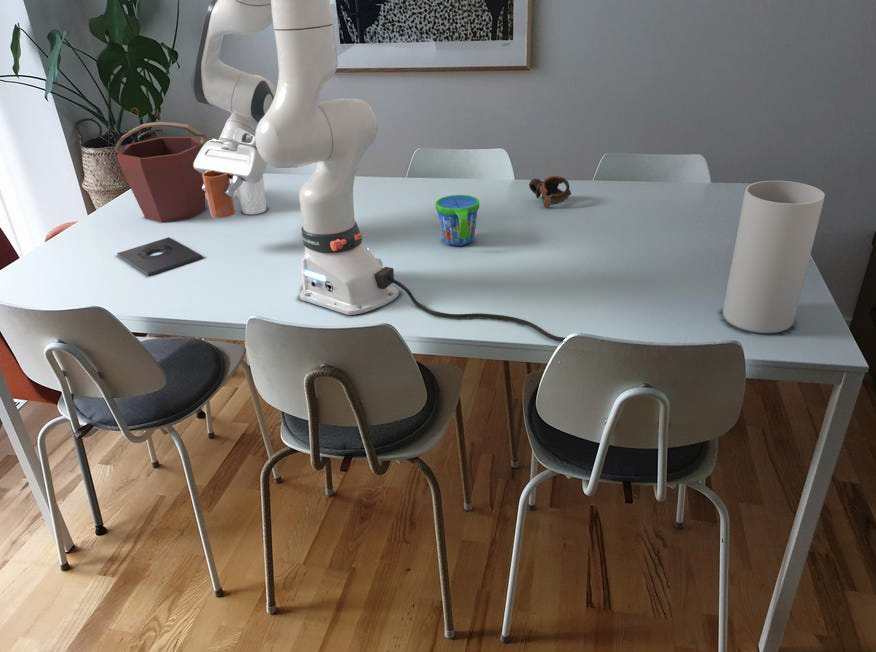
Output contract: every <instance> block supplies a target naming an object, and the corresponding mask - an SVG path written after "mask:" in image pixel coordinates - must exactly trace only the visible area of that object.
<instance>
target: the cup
mask: <svg viewBox="0 0 876 652" xmlns="http://www.w3.org/2000/svg"><path fill="white" fill-rule="evenodd" d="M202 178H203V182H204V187H205V198H206V201H207V205H208V210H209V214H210V217H211V218H213V219H224V218H229V217H232V216H234V215H235V214H236V206H235V200H234V195H233V196H227V195H226V194H224V190H225V188H226V186H228V187H229V185H230V184H231V181H230V180H231V179H229V175H228V173H225V174H223V173H217V172H214V170H211V171H208V172H205V173H203V174H202Z"/></svg>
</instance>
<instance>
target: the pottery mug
mask: <svg viewBox="0 0 876 652" xmlns="http://www.w3.org/2000/svg"><path fill="white" fill-rule="evenodd" d="M560 184H564V185H565V186H566V187H565V189H564V190H561V189H560V188H559V186H560ZM528 187H529V189H530V191H531V192H532V193H533V194H534V195H535V196H536V199H539V198H540V197H541V198H542V199H543V202H542V206H543V207H545V208H547V209H548V208H549V207H550V206H554V205H558V204H561V203H564V202H565V200H568V198H569V197H570V196H572V191H571V189H570V188H571V187H570V183H569V181H568V180H567V179H566V178H565V177H562V176H560V175H550V176H546V178H544V179H543V180H541V179H539V178H531V180H530V181H529V184H528Z"/></svg>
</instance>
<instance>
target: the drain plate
mask: <svg viewBox="0 0 876 652" xmlns="http://www.w3.org/2000/svg"><path fill="white" fill-rule="evenodd" d="M157 252H162V253H159V254H155V255H150V254H152V253H157ZM116 254H117V257H119V258H120V259H122V260H123V261H125V262H126V263H128V264H129V265H131V266H132V267H134V268H135V269H137V270H138V271H140V272H141V273H143V274H144V275H146V276H148V277H150V276H153V275H157V274H159V273H162V272H165V271H169V270H172V269H174V268H177V267H180V266H183V265H186V264H189V263H192V262H194V261H198V260H200V259H203V256H202V254H200V253H198V252H196V251H195V250H192V249H191V248H189V247H187V246H185V245H184V244H182V243H180V242H178V241H176V240H175V239H173V238H171V237H169V236H168V237H165V238H162V239H159V240H155V241H152V242H149V243H146V244H143V245H138V246H136V247H133V248H132V247H131V248H129V249H126V250H123V251H119V252H117V253H116Z"/></svg>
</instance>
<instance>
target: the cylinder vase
mask: <svg viewBox="0 0 876 652" xmlns="http://www.w3.org/2000/svg"><path fill="white" fill-rule="evenodd" d="M825 196H826V194H825V192H824V191H823V190H821V189H820V188H817V187H816V186H813V185H810V184H807V183H802V182H796V181H790V180H789V181H788V180H765V181H764V180H763V181H757V182H753V183H751V184H749V185H747V186H746V187H745V191H744V196H743V201H742V206H741V211H740V217H739V222H738V227H737V233H736V238H735V244H734V249H733V253H732V254H733V255H732V260H731V265H730V269H729V270H730V271H729V276H728V281H727V285H726V291H725V297H724V301H723V302H724V303H723V308H722V315H723V317H724V319H725V321H727V323H729V324H730V325H732V326H733V327H736V328H738V329H740V330H743V331H746V332H751V333H756V334H776V333H780V332H784V331H787V330H789V329H790V328H791V327H792V326H793V325H794V323H795V320H796V315H797V311H798V307H799V303H800V298H801V295H802V291H803V286H804V283H805V279H806V275H807V271H808V266H809V262H810V259H811V254H812V251H813V250H812V249H813V245H814V241H815V239H816V238H815V236H816V233H817V231H818V230H817V229H818V225H819V221H820V217H821V213H822V210H823V205H824V201H825Z"/></svg>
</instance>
